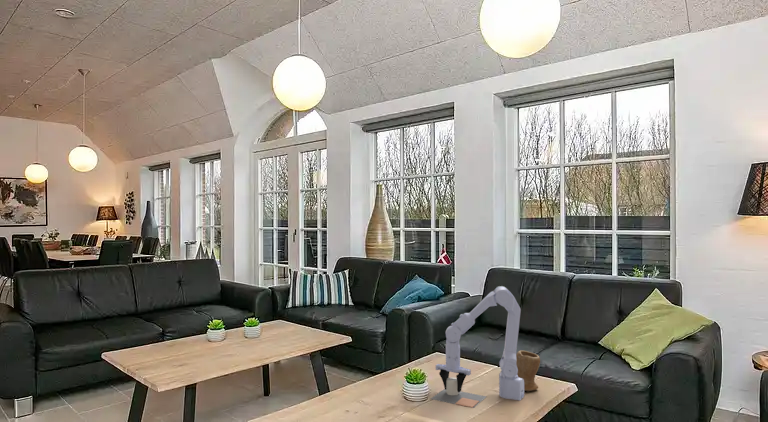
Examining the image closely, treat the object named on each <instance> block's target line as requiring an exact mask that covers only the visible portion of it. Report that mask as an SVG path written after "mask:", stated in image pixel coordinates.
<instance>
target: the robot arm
mask: <svg viewBox="0 0 768 422" xmlns="http://www.w3.org/2000/svg"><path fill="white" fill-rule="evenodd" d="M498 305H500V307H503V308H504V309H505V310H506V311H507V316H506V317H507V319H506V326H505V327H506V329H505V338H504V347H503V352H502V356H501V358H500V360H499V362H498V364H499V368H500V370H501V371H500V372H499V374H498V376H499V377H498V379H499V380H498V381H499V383H498V385H499V386H498V387H499V389H498V393H499V397H500V398H503V399H507V400H515V401H521V400H522V399H524V397H525V390H524V379H522V378H519V377H518V375H517V373H518V368H517V365H516V361H517V360H516V354H517V348H518V340H519V331H520V319H521V314H522V313H521V311H522V310H521V307H520V305H519V303H518V302H517V299H516V297H515V296H514V295H513V293H512V292H511V291H510V290H509V289H508V288H507V287H505V286H503V285H501V286H500V285H499V286H496V288H495V289H494V290H491V291H490V292H489V293H488V294H487V295H486V296H485V297H483V299H482V300H480V302H478V304H476V306H474V308H473V309H472V310H471V311H470V312H464V313H460V315H459V317H458V319H457V320H456V321H454V322H452V323H450V325H449V326H448V327H447V328H446V330H445V331H444V332H445V338H446V340H445V364H443V363H442V364H440V363H436V364H435V371H439V372H438V374H439V376H440V378H441V380H442V382H443V383H442V384H443V387H444V389H445V390H446V380H447V378H450V373H453V374H454V373H455V374H456V376H455V378H457V384H458V385H457V391H458V392H460V391H461V392H462V388H463V385H464V384H463V383H464V381H465V379H466V377H467V376H471V375H472V373H471V372H472V371H471V369H469V368H467V367H466V368H465V367H464V366H461V345H460V340H461V337H462V335H464V334H466V332H468V330H469V329H471V328H472V326H474V325H475V323H476V319H477V318H478V317H479V316H480V315H481V314H483V313H484V312H485V311H487V309H488V308H489V307H495V306H496V307H497V306H498Z"/></svg>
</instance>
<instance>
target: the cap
mask: <svg viewBox="0 0 768 422" xmlns="http://www.w3.org/2000/svg"><path fill="white" fill-rule="evenodd" d="M457 385H458V384H457V377H452V376H451V377H449V378H447V380H446V393H447V394H448V395H458V394H460V392H458V391H457Z"/></svg>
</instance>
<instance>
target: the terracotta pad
mask: <svg viewBox="0 0 768 422" xmlns="http://www.w3.org/2000/svg"><path fill="white" fill-rule="evenodd" d="M477 403H479V401H477V400H472V399H467V398H461V399H460V400H459V401H457V402H456V403H455V404H454V405H456V404H457V405H456V406H461V405H462V407H466V406H467V408H471V409H474V408H473V407H474V406H475V405H476V404H477ZM479 404H480V403H479Z"/></svg>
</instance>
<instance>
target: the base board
mask: <svg viewBox="0 0 768 422" xmlns="http://www.w3.org/2000/svg"><path fill="white" fill-rule="evenodd" d="M461 398H467V399H472V400H477V401H479V403H477V404H476V405H475V406H474V407H473V408H472V409H474V408H476V407H477V406H478V405H479V404H480V403H482V402H483V401H484V399H486V398H487V395H481V394H475V393H470V392H466V391H462V390H461V391H460V394H458V395H448V394H447V393H446V390H445V388H444V389H442V390H440V391H439V392H438V393H437V394H435V395H434V396H433V397H431V398H430V400H434V401H437V402H438V401H439V402H443V403H447V404H453V405H456V406H458V405H457V404H455V403H456V402H457V401H459V400H460V399H461ZM460 406H462V405H460ZM462 407H463V406H462ZM465 407H467V406H465ZM467 408H468V407H467Z"/></svg>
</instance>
